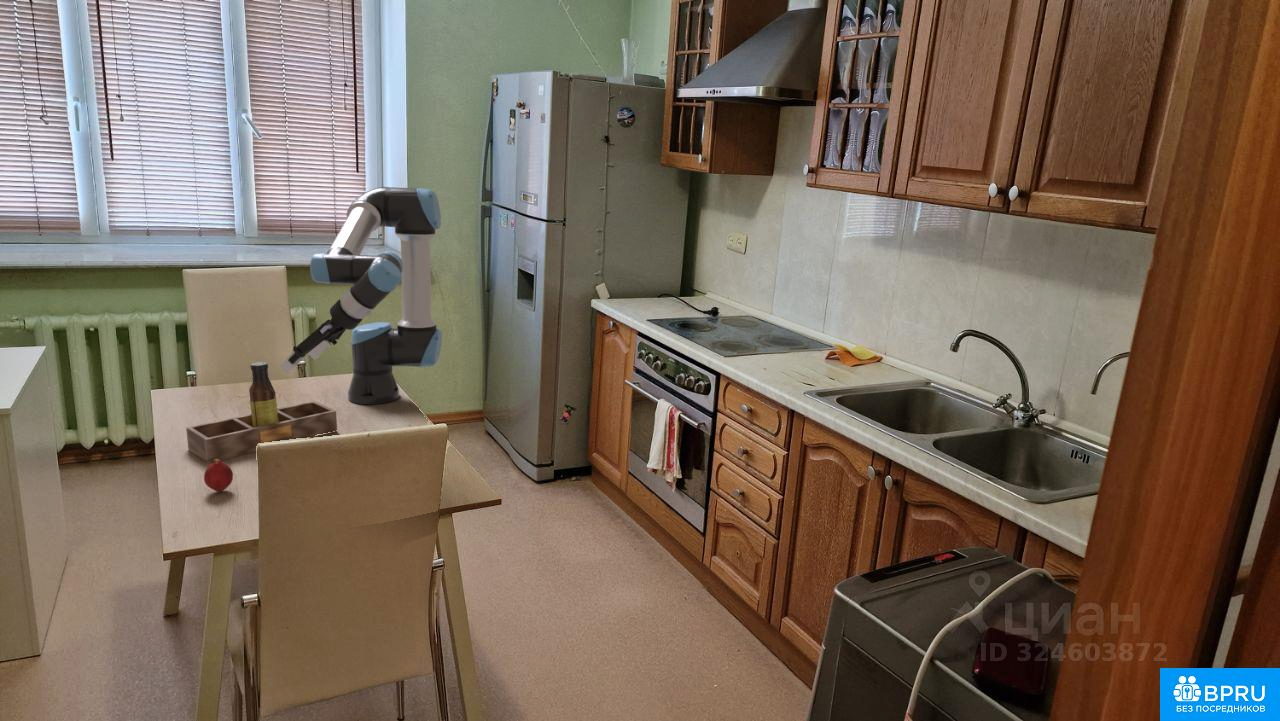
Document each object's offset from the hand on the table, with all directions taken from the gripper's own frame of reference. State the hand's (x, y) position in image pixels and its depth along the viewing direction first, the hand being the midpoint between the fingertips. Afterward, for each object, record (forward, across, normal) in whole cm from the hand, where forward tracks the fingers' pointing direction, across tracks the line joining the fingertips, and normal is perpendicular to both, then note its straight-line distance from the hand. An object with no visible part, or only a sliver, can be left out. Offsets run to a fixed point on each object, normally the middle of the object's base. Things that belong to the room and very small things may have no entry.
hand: (298, 362), depth 211 cm
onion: (+17, -32, -14) cm, 39 cm away
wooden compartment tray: (+23, 0, -8) cm, 24 cm away
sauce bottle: (+22, 0, -8) cm, 23 cm away
